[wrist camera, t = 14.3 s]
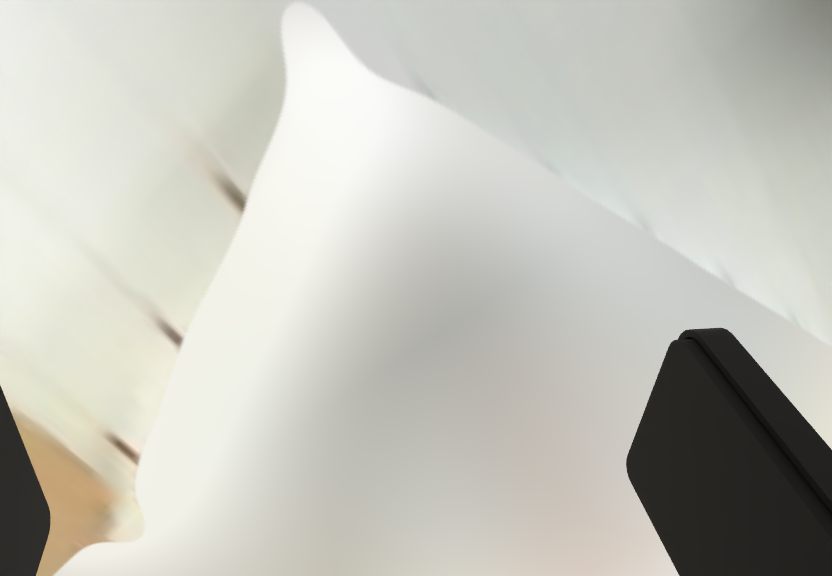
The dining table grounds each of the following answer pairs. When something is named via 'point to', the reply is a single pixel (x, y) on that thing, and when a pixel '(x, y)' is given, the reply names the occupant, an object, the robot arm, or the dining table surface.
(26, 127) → the dining table surface
